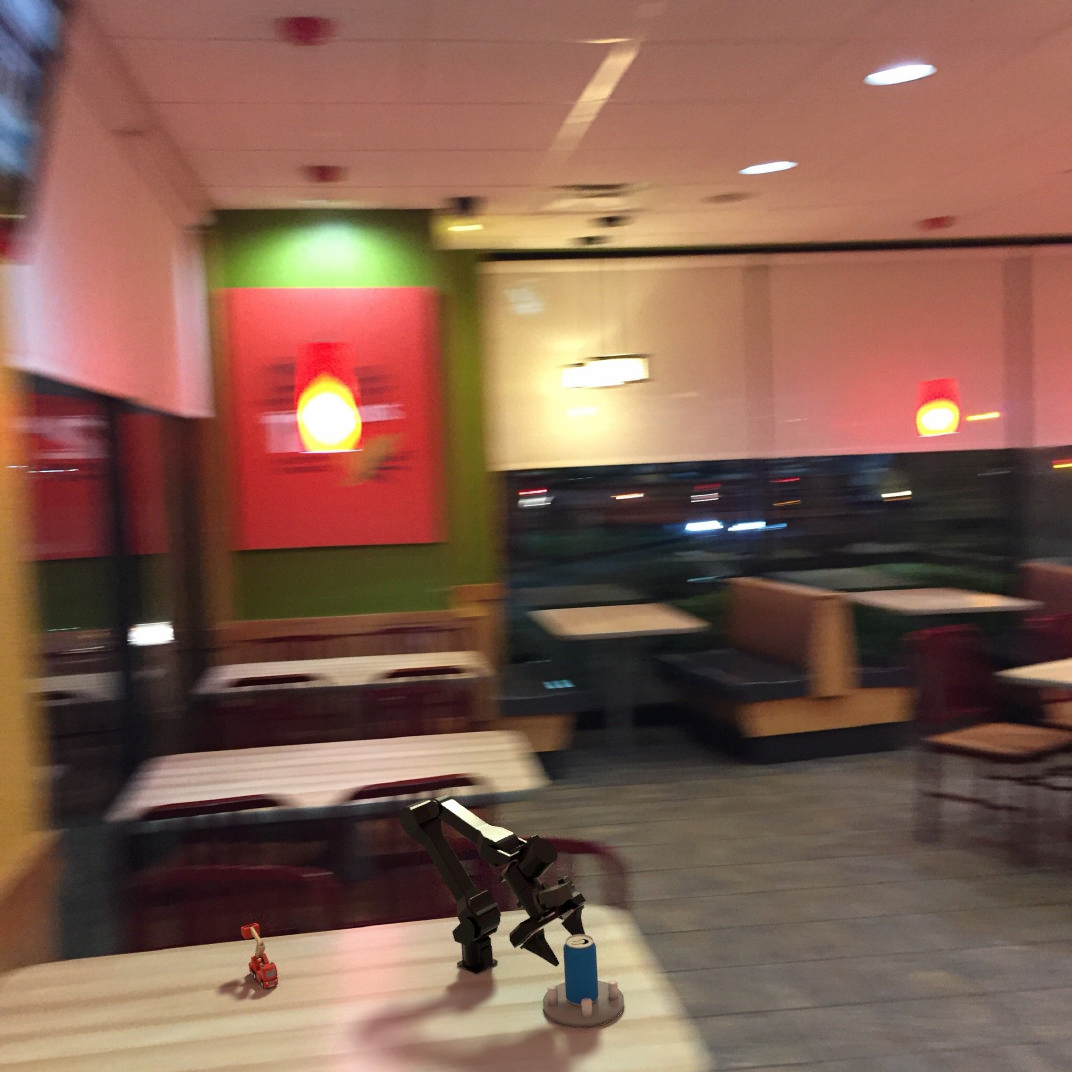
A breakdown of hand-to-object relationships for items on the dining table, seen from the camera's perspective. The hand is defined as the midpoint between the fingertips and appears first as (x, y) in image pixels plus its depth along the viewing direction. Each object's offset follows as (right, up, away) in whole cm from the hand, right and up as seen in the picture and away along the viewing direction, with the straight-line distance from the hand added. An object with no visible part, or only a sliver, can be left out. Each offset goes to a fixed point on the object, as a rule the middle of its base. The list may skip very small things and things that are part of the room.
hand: (572, 956), depth 207 cm
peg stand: (+2, -9, -1) cm, 10 cm away
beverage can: (+2, -8, -1) cm, 9 cm away
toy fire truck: (-67, -12, +18) cm, 70 cm away
